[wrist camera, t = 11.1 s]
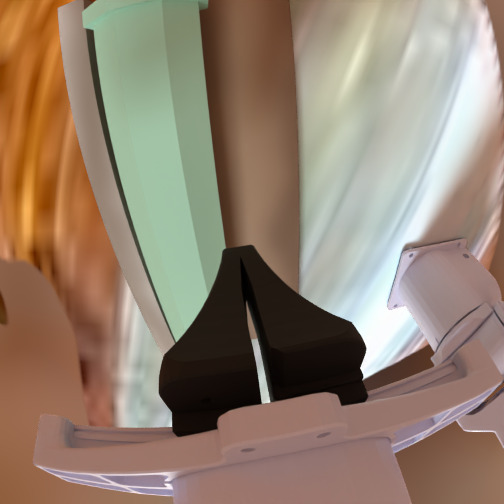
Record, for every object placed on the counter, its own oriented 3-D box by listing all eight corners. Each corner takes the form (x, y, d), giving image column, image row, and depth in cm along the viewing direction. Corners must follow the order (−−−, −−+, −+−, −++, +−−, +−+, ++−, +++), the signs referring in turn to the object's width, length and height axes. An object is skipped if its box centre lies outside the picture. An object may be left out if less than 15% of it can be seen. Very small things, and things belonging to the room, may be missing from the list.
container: (239, 393, 21) (173, -32, 6) (169, 376, 22) (55, 19, 7) (256, 334, 25) (229, -6, 10) (194, 323, 27) (131, 17, 12)
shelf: (277, -17, 12) (296, -35, 9) (291, 315, 29) (302, 347, 25) (84, 16, 11) (57, 8, 8) (170, 334, 28) (169, 367, 25)
